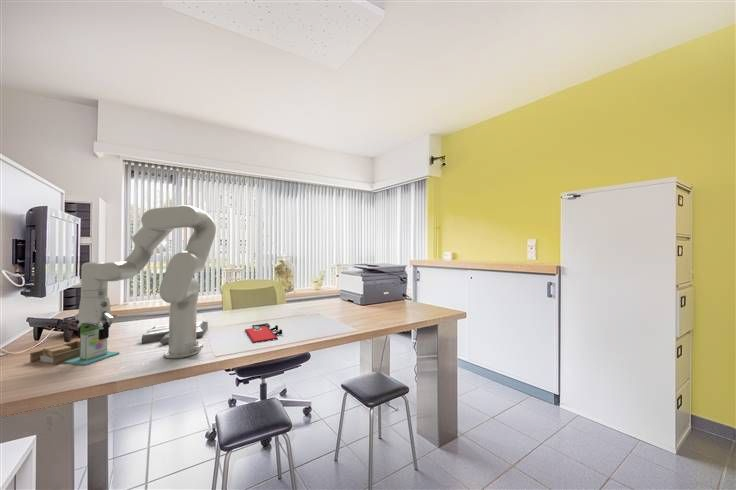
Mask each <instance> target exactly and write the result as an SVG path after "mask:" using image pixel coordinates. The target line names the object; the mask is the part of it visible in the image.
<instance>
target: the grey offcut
mask: <svg viewBox="0 0 736 490" xmlns="http://www.w3.org/2000/svg"><path fill="white" fill-rule="evenodd" d="M40 362H44V363H50V364H53V358H50V357H47V356H44V355H42V356H40Z"/></svg>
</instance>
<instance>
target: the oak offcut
mask: <svg viewBox="0 0 736 490" xmlns="http://www.w3.org/2000/svg"><path fill="white" fill-rule="evenodd" d="M42 350H43V355H44V356H47V357H50V358H53V355H56V354H60V353H63V352H67V351H70V350H71V347H69V346H66V345H63V344H62V343H61V344H57V345H52V346H47V347H43V348H42Z"/></svg>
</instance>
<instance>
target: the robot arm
mask: <svg viewBox="0 0 736 490" xmlns="http://www.w3.org/2000/svg"><path fill="white" fill-rule="evenodd" d="M140 220H141V221H140V222H141V224H142V227H140V229H139V230H138V231H137V232H136V233H135V234H134V235H133V236H132V239H131V241H132V242H133V244H134V247H133V250H132V251H131V253H130V254H129V255H128V256H127V257H126V258H125V259H124V260H121V261H110V262H109V261H108V262H102V261H94V262H93V261H90V262H84V263H82V265H81V271H80V272H81V277H80V278H81V281H80V299H79V300H80V301H79V306H78V313H77V314H75V315H74V319H75V323H76V327H77V328H78V329H77V331H78V333H77V335H78V336H77V338H78V339H80V333H81V332H80V330H81V324H84V323H86V324H91V325H96V324H98V326H99V327H100V329H99V340H102V339H105V338H107V339H109V337H110V336H109V335H110V333H109V332H110V331H109V330H110V327H111V325H112V324H113V321H114V319H115V318H114V316H112V314H111V313H112V312H111V303H110V298H109V296H108V282H118V281H123V280H130V279H132V278H134V277H135V276H137V275H138V274H139V273H140V272H141V271H142V270H143V269H144V268H145V267H146V266H147V264H148V263H149V262H150V260H151V258H152V256H153V253H154V251H155V249H156V248H157V247H158V246H159V245H160V244H161V243H162V242H163V241H164V239H166V237H168V235H170V233H171V232H172V231H173V230H175V229H181V228H190V229H193V231H192V234H191V235H190V237H189V239H188V241H187V244H186V247H185V249H184V251H180V252H178V253H176V254H174V255H173V256H172V258H171V259H170V260H169V261H168V264H167V267H166V268H165V269H166V270H165V272H164V274H163V277H162V279H161V283H160V285H159V292H158V293H159V297H160V299H162V300H163V301H164V302H166V303H169V304H170V305H169V311H168V312H169V313H168V314H169V315H168V316H169V317H168V324H169V343H168V349H167V350H165V351H164V352H163V356H164V358H166V359H181V358H186V357H191V356H193V355H196V354H198V353H200V352H201V351H202V349H203V347H204V345H203V344H199V340H197V338H196V322H197V320H198V319H197V314H198V313H197V311H198V299H199V293H200V292H199V291H200V290H199V289H200V286H199V282H198V281H197V280H196V278H194V275H196V274H198V273H200V272H201V271H203V270H204V268H205V265H206V264H207V261H208V260H207V259H208V257H209V253H210V251H211V248H212V245H213V242H214V239H215V237H216V233H217V231H216V230H217V225H216V223H215V221H214V219H213V217H212V216H211V215H209V214H208V213H207V212H206V211H205V210H203V209H201V208H198V207H194V206H192V205H185V204H184V205H175V206H165V207H155V208H151V209H148V210H146V211H145V212H144V213H143V214H142V216H141V218H140ZM89 327H90V325H88V326H86V327H85V328H89Z"/></svg>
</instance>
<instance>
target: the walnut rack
mask: <svg viewBox="0 0 736 490" xmlns="http://www.w3.org/2000/svg"><path fill="white" fill-rule="evenodd" d="M62 345H66V346H69V347H71V350H70V351H67V352H63V353H60V354H56V355H53V363H52V365H53V366H58V365H60V364H65V363H64V362H65V361H68V360H71V359H74V358H77V357H80V340H74V341H71V342H66V343H63V344H62ZM29 355H30V356H29V358H30V359H29V362H30V363H36V362H39V361H40V356H42V355H43V349H40V350H37V351H33V352H30V354H29ZM40 362H41V361H40Z"/></svg>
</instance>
